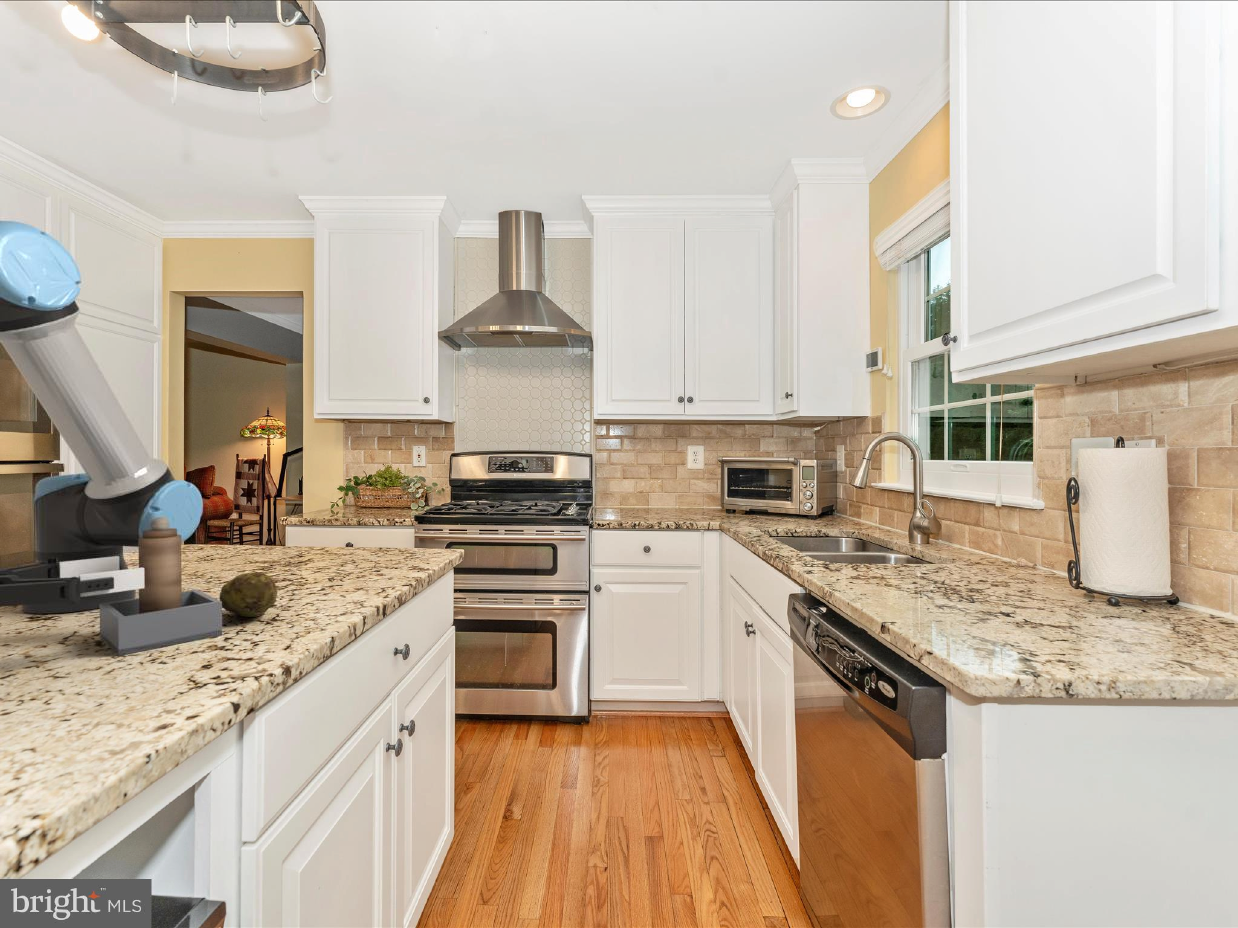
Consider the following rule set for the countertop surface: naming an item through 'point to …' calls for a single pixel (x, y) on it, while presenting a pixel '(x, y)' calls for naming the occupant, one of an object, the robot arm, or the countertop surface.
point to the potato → (249, 594)
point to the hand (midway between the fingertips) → (130, 571)
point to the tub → (159, 623)
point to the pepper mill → (160, 567)
